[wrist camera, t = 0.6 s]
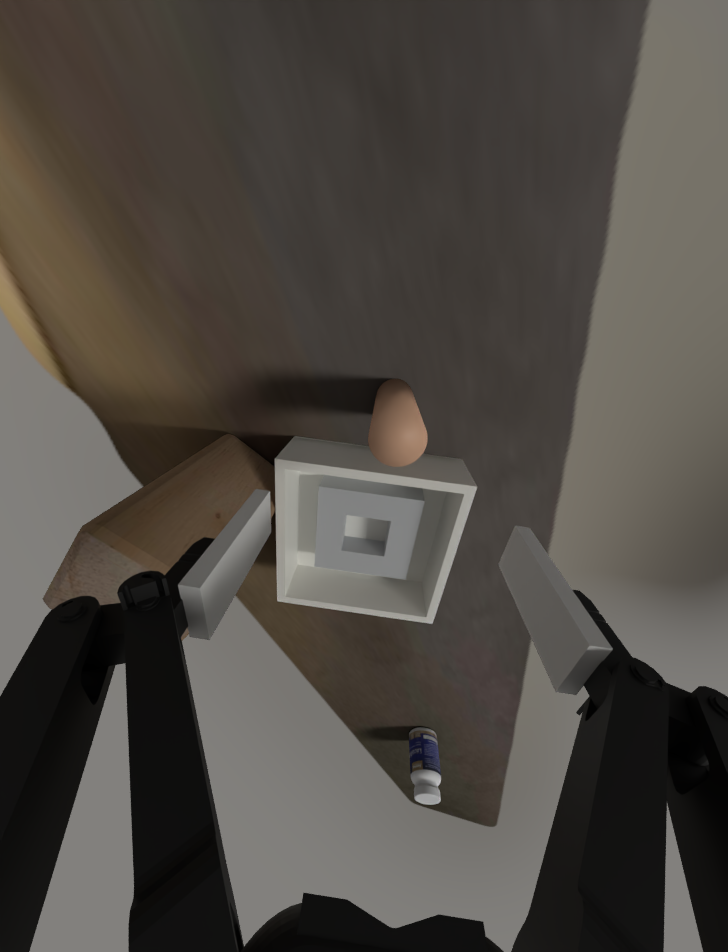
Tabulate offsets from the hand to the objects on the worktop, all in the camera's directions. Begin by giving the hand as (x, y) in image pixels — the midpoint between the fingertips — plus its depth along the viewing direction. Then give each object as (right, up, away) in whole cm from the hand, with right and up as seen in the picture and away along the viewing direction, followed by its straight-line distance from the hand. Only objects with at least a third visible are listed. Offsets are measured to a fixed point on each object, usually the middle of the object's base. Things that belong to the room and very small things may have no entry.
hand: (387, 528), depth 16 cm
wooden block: (-17, +2, +23) cm, 29 cm away
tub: (-1, -3, +24) cm, 24 cm away
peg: (+2, +11, +17) cm, 20 cm away
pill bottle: (+11, -51, +47) cm, 70 cm away
